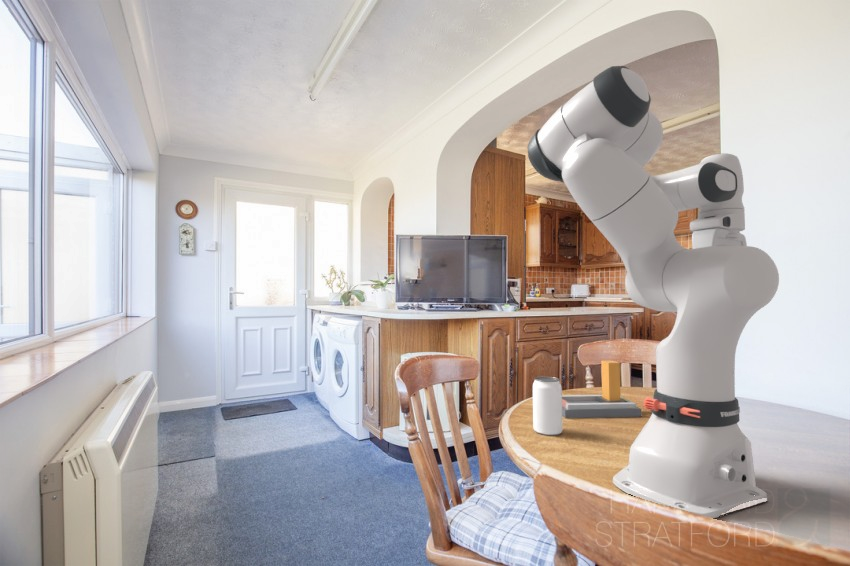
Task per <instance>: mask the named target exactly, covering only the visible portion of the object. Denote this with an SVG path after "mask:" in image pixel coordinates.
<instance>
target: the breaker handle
mask: <svg viewBox="0 0 850 566" xmlns="http://www.w3.org/2000/svg"><path fill="white" fill-rule="evenodd" d="M620 364H621V363H620V362H618V361H615V360H612V359H611V360H601V364H600V365H601V395H602V396H597V400H598V401H600V402H602V403H619V402H626V401H624V400H622V399H620V396H621V371H620V370H621V365H620Z"/></svg>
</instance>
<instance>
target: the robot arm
mask: <svg viewBox="0 0 850 566" xmlns="http://www.w3.org/2000/svg"><path fill="white" fill-rule="evenodd" d="M651 101H652V99H651V95H650V93H649V89H648V86H647V84H646V82H645V81H644V79H643V78H642V77H641V76H640V75H639V73H637V72H636V71H634V70H631V69H630V68H629V67H627V66H624V65H612V66H609V67H608V68H606V69H604V70H603V71H602V72H600V73H598V74H597V75H596V76H594V77H593V81H591V82H590V83H588V84H587V85H585V86H584V87H583V88H582V89H581V90H579V91H578V92H576V93H575V94H574V95H573V96H572V97H571V98H570V99H569V100H568V101H566V102H564V103H562V105H561V106H560V107H559V108H558V109H556V110H555V112H554V113H553V114H552V115H551V116H550V117H549V118H548V119H547V121H546V122H545V123H544V124H543V125H542V126H541V127H540V128H538V129H537V130H536V131H535V133H534V134H533V135H532V137H531V138H530V140H529V142H528V143H527V156H528V160H529V163H530V164H531V166H532V167H533V169H534V170H535V171H536V172H537V173H538V174H539V175H540V176H543V177H544V178H546V179H548V180H551V181H554V182H561V183H563V184H564V185H565V187H566V188H567V190H568V191H569V193H570V195H571V196H572V198H573V200H574V201H575V202H576V204H577V206H579V209H581V211H582V212H583V213H584V214H585V215H586V217H587V218H588V220H590V221H591V223H593V225H594V226H595V227H596V228H597V229H598V230H599V232H600V233H601V234H602V235H603V236H604V237H605V239H606V240H607V241H608V242H609V243H610V245H611V246H612V247H613V248H614V250H615V252H617V254H618V255H619V257H620V259H621V261H622V263H623V265H624V267H625V271H626V274H625V275H626V276H625V280H624V283H625V284H624V285H625V290H626V293H627V295H628V297H629V298H630V300H632V301H633V302H634V303H635V304H637V305H639V306H641V307H643V308H646V309H650V310H654V311H658V312H663V313H664V312H665V313H676V318H675V322H674V324H673V327H672V329H671V332H670V333H669V335H668V336H667V337H665V338H663V339H662V340H661V341H660V342H659V343H657V346H656V349H655V365H656V366H655V367H656V368H655V369H656V370H655V374H656V389H655V390H654V393H653V396H652V398H651V397H648V396H646V397H645V398H644V400H643V407H644V409H646V410H648V411H649V410H650V411H651V415H650V417H649V419H648V420H647V421H646V423H645V424H644V426H643V427H642V429H641V430H640V432H639V433H638V435H637V436H636V438H635V440H633V442H632V444H631V445H630V448H629V455H628V464H627V465H626V466H624V467H623V468H622V469H621V470H620V471H618V472H617V473H616V474H615V475H613V477H612V483H613V485H614V486H615V487H617V488H618V489H620V491H623V492H624V493H626V494H628V495H629V494H631V495H633V496H636V497H640V498H642V499H645V500H648V501H652V502H655V503H658V504H663V505H667V506H671V507H674V508H677V509H682V510H685V511H688V512H692V513H695V514H699V515H703V516H707V517H712V518H713V519H715V518H719V516H720V515H721V514H722V513H726V512H727V511H729V510H730V509H732V508H734V507H736V506H738V505H740V504H743V503H746V502H749V501H753V500H758V499H762V498H768V493H766V491H764V490H763V489H761V488H759V487H758V486H756V477H755V468H754V458H753V457H754V456H753V450H752V443H751V440H750V439H749V438H748V437H747V436H746V435H745V433H744V432H743V431H742V430H741V428H740V426H739V424H738V423H739V422H740V413H741V409H740V404H739V399H738V398H737V397H736V390H735V389H736V387H735V385H736V383H735V381H736V379H735V378H736V377H735V373H736V372H735V369H736V368H735V367H736V366H735V365H736V364H735V363H736V352H737V346H738V342H739V340H740V337H741V335H742V333H743V330H744V329H745V327H746V325H747V324H748V322H749V320H750V319H752V317H753V316H754V315H755V314H756V313H757V312H758V311H760V310H761V309H763V308H764V307H765V306H767V305H768V304H769V303H770V302H771V301H772V300H773V298H775V296H776V294H777V291H778V287H779V284H780V274H779V271H778V270H779V269H778V267H777V265H776V263H775V262H774V260H773V258H772V257H771V256H770V254H768V253H767V252H765V251H764V250H763V249H762V248H759V247H755V246H749V245H748V244H747V239H746V236H745V235H744V234H743V233H741V232H743V231H745V230H746V223H745V222H746V221H745V220H746V219H745V214H746V213H745V207H744V204H743V195H744V190H745V189H744V175H743V169H742V165H741V162H740V159H739V158H738V156H737V155H734V154H733V153H732V154H731V153H716V154H715V153H714V154H710V155H708V156H706V157H704V158H702V159H701V161H700V163H698V164H694V165H692V166H688V167H685V168H681V169H679V170H675V171H671V172H668V173H665V174H659V175H656V174H655V175H653V174H650V173H649V172H648V171H647V170H646V169H645V168H644V166H645V165H647V164H648V163H649V162H651V160H652V159H653V158H654V157H655V156H656V154H657V152H658V151H659V149H660V147H661V144H662V142H663V136H664V128H663V125H662V122H661V121H660V119H659V118H658V117H657V116H656V115H655V113H653V111H651V110H650V106H651ZM698 208H699V209H698ZM695 209H698V212H697V218H696V219H694V220H692V221H690V222H689V230H690V231H691V232H692V235H691V246H692V247H691V248H689V249H688V248H686V247H684V246H683V245H681V244H680V242H678V240H677V238H676V235H675V233H674V230H675V229H676V227H677V225H678V221H679V212H684V211H689V210H695ZM631 495H630V496H631ZM754 495H755V496H754ZM633 496H632V497H633ZM720 517H721V516H720Z"/></svg>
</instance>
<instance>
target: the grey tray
mask: <svg viewBox="0 0 850 566" xmlns="http://www.w3.org/2000/svg"><path fill="white" fill-rule="evenodd" d="M597 396H602V394H566V395H565V394H562V418H564V419H584V418H585V419H588V418H591V419H592V418H595V419H596V418H597V419H598V418H599V419H600V418H639V417H640V418H642V417H643V416H642V415H643V414H642V413H643V412H642V408H641V407H638V406H637V403H635V402H634V401H631V400H629V399H627V398H625V397H623V396H621V395H620V399H622V400H624V401H626V402H619V403H602V402H600V401H598V400H597Z"/></svg>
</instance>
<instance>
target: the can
mask: <svg viewBox="0 0 850 566" xmlns="http://www.w3.org/2000/svg"><path fill="white" fill-rule="evenodd" d="M560 380H561V379H560V378H558V377H554V376H553V377H552V376H545V375H544V376H543V375H542V376H536V377H534V381H533V383H532V425H533V426H532V428H533V429H532V430H534V432H535V433H536V434H537V433H538V435H539V434H540V435H544V436H550V437H551V436H558V435H561V433H563V416H562V395H563V390H562V385H561V382H560Z"/></svg>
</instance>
